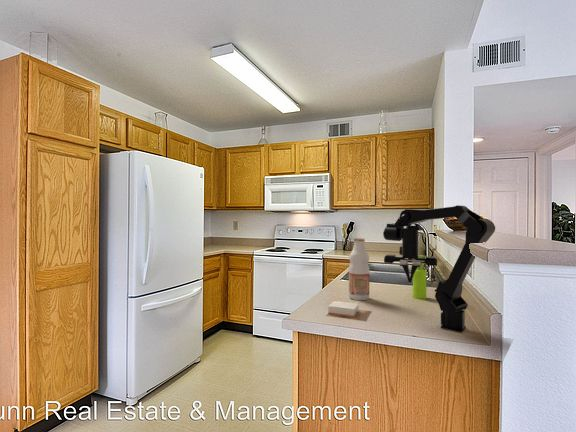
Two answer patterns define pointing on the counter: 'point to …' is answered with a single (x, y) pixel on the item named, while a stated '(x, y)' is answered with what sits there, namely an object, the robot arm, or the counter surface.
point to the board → (361, 315)
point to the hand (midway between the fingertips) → (410, 282)
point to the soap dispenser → (419, 282)
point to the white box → (343, 308)
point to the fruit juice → (359, 271)
